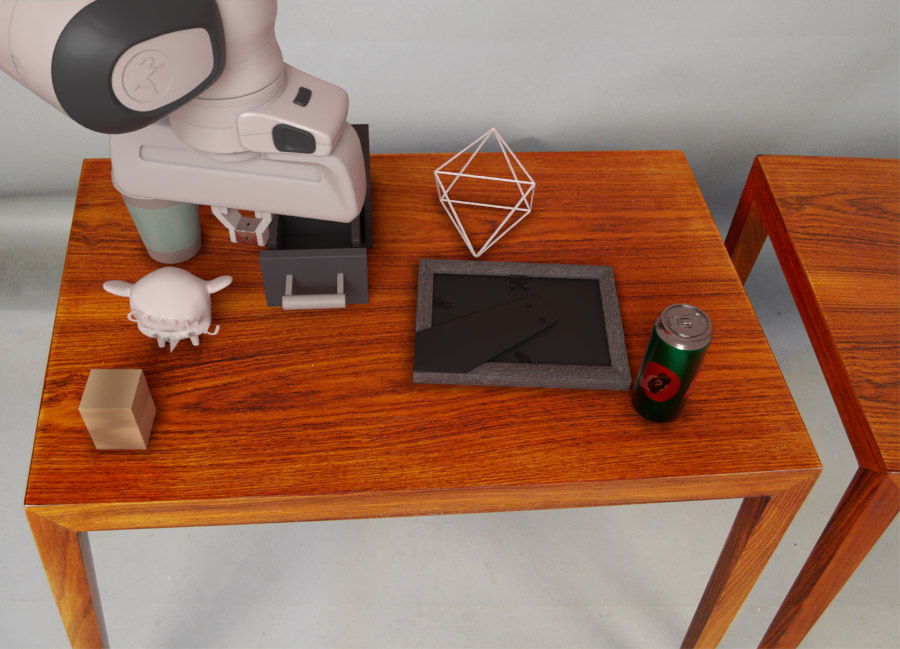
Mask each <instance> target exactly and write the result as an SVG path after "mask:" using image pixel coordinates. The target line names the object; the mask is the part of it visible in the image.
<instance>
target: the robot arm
mask: <svg viewBox="0 0 900 649" xmlns="http://www.w3.org/2000/svg"><path fill="white" fill-rule="evenodd" d="M277 16H278V0H0V70H1V71H2V72H3V73H5V74H6V75H7V76H9V77H10V78H12V79H13V80H15V81H16V82H17V83H19V84H20V85H21V86H23V87H24V88H26V90H29V91H30V92H31V93H33V94H34V95H35V96H37V97H38V98H40V99H41V100H42V101H44V102H45V103H46V104H48V105H50V106H51V107H52V108H54V109H56V110H57V111H58V112H60V113H61V114H62V115H64V116H66V117H67V118H69V119H71V121H74V122H75V123H77V124H78V125H80V126H81V127H83V128H85V129H87V130H89V131H92V132H95V133H99V134H105V135H108V146H109V156H110V162H111V169H112V168H113V173H114V178H115V181H116V184H117V185H118V186H119V187H120V188H121V189H122V190H123V191H124V192H125V193H127V194H128V195H131V196H138V197H146V198H154V199H162V200H170V201H178V202H186V203H194V204H199V205H202V206H210V209H211V213H212V215H213V216H215V217H216V219H217V220H218V221H219V222H220V223H221V224H222V225H223V226H224V227H225V228H226V229H228V233H229V238H230V242H231V243H233V244H234V243H235V244H242V245H252V246H258V247H266V246H267V241H268V238H269V226H268V225H269V224H270V222H271V221H272V219H273V216H274V214H281V215H289V216H297V217H305V218H313V219H321V220H329V221H337V222H344V223H349V222H351V221H353V220H354V219H355V218H356V217H357V216H358V215H359V214H360V212H361V210H362V207H363V204H364V200H365V196H366V173H365V165H364V159H363V153H362V148H361V144H360V140H359V137H358V135H357V133H356V131H355V129H354V128H353V127H352V126H351V125H350V124H351V123H350V122H348V121H347V118H348V114H349V108H350V96H349V94H348V92H347V90H346V89H345V88H343V87H340V86H338V85H336V84H334V83H331V82H329V81H326V80H324V79H321V78H318V77H316V76H314V75H311V74H310V73H307V72H305V71H303V70H300V69H298V68H297V67H294V66H292V65H291V64H289V63H287V62H285V61H284V55H283V53H282V49H281V47H280V44H279V43H278V41H277V38H276V30H275V29H276V28H275V27H276V19H277ZM239 210H243V211H249V212H250V211H251V212H254V217H248V216H243V215H242V214H241V213H240V211H239Z"/></svg>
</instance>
